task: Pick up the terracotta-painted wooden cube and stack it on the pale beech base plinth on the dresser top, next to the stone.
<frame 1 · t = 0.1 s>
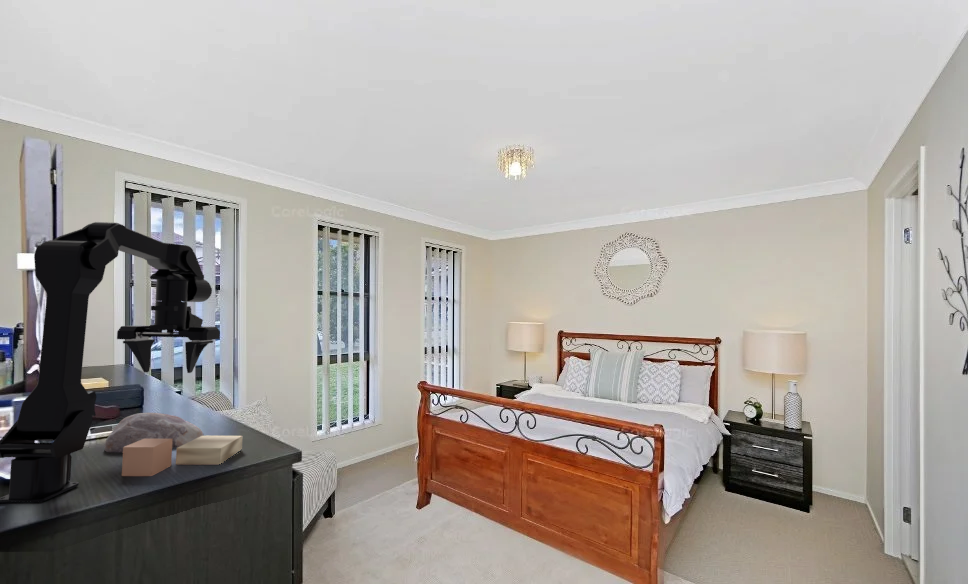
hand: (168, 372, 96), 15 cm above the table, tool pointing down, fingers open, 9 cm apart
stone: (158, 445, 93), on the table
base: (210, 457, 85), on the table
block: (147, 471, 78), on the table
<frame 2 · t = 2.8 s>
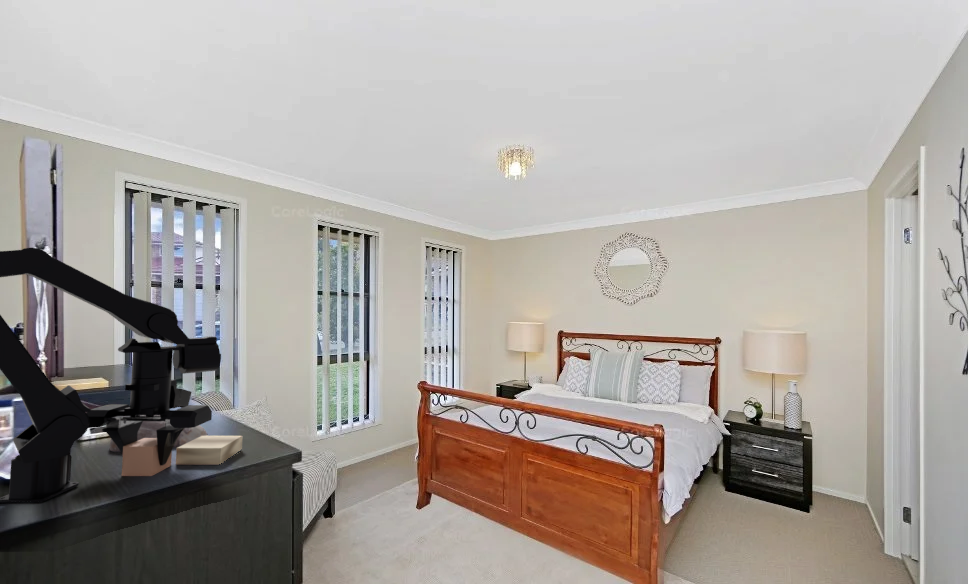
hand: (147, 464, 78), 1 cm above the table, tool pointing down, fingers closed on block, 5 cm apart
block: (147, 470, 78), on the table, touching gripper
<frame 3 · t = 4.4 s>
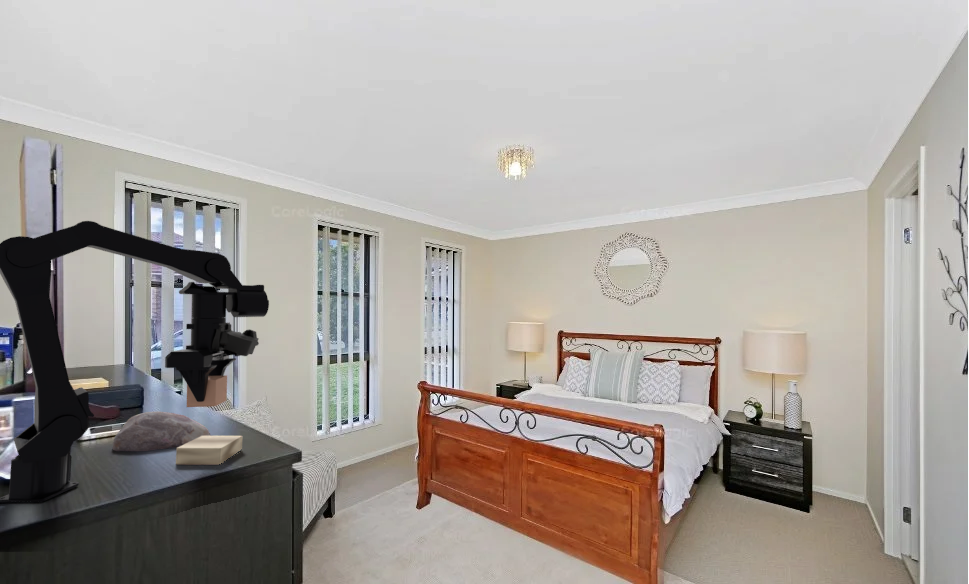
hand: (207, 398, 85), 11 cm above the table, tool pointing down, fingers closed on block, 5 cm apart
block: (207, 403, 85), point 10 cm above the table, touching gripper
when the fingers open (5 cm above the table, at t = 6.0 s): block stays where it is, resting on base.
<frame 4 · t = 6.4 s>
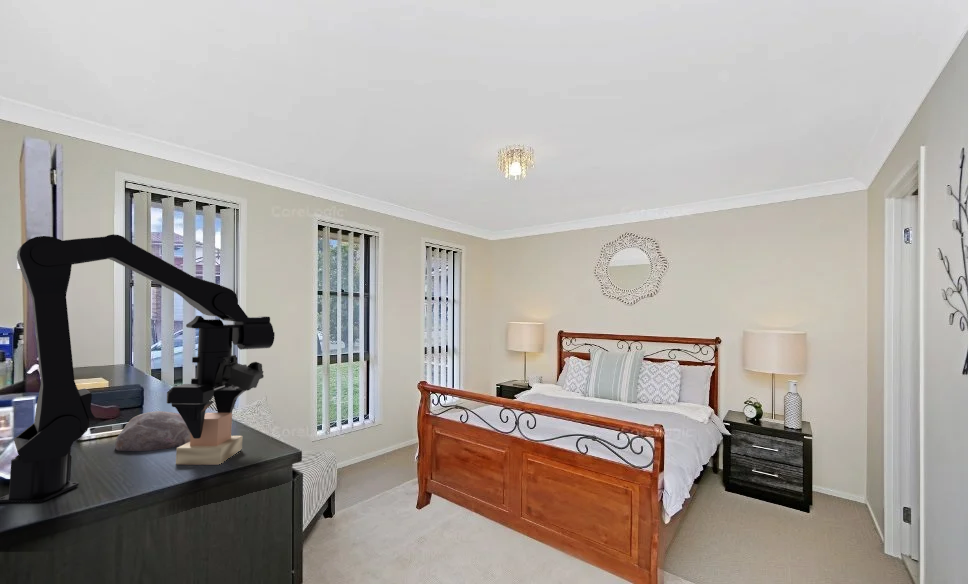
hand: (211, 431, 85), 5 cm above the table, tool pointing down, fingers open, 9 cm apart
block: (211, 441, 85), point 3 cm above the table, touching base
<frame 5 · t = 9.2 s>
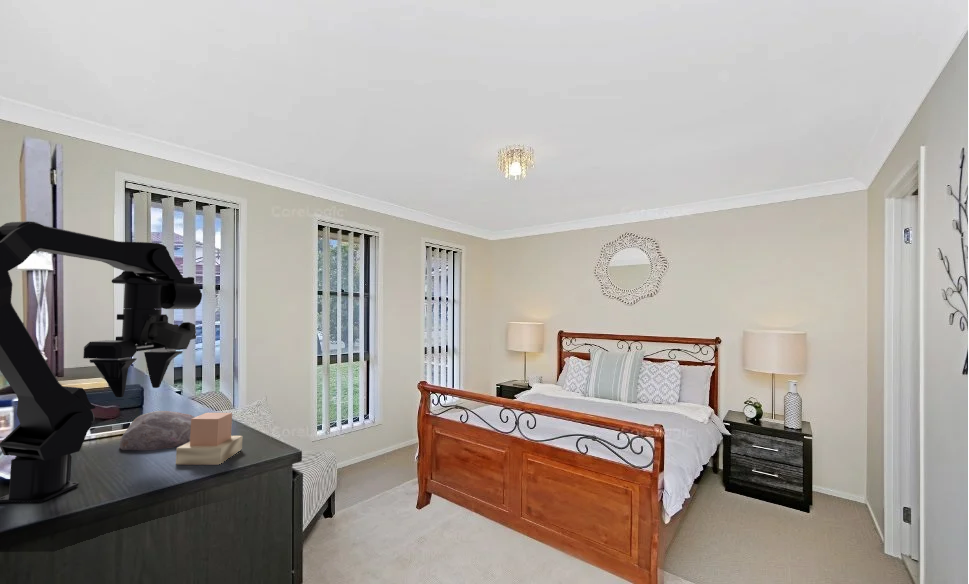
hand: (138, 392, 82), 13 cm above the table, tool pointing down, fingers open, 9 cm apart
at the end: block 0.0 cm off-centre on the base, point 3.0 cm above the base's base; block tilted 0°; the gripper is holding nothing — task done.
